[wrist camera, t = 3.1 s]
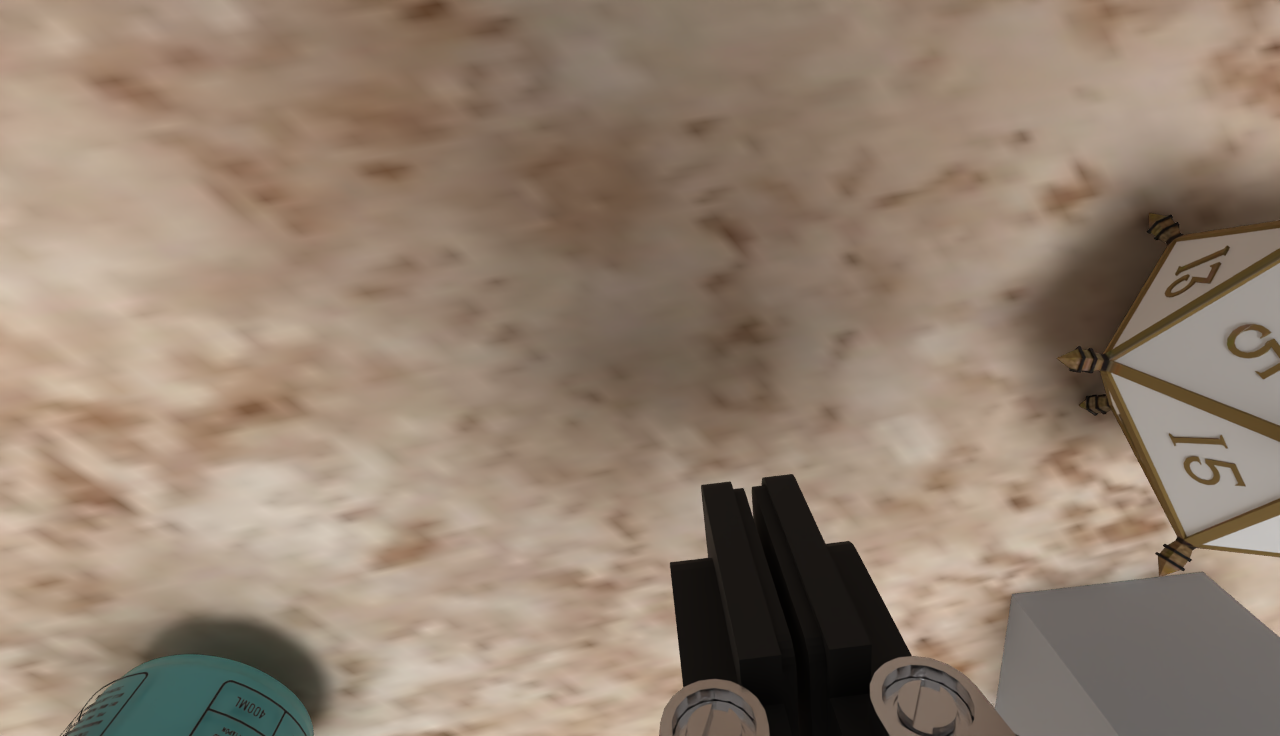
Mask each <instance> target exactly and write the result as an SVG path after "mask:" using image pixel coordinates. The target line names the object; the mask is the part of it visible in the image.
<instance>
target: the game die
mask: <svg viewBox="0 0 1280 736" xmlns="http://www.w3.org/2000/svg"><path fill="white" fill-rule="evenodd" d="M1172 218H1173V216H1172V215H1169V216H1164V215H1158V214H1152V213H1149V230H1148V231H1147V233H1152V234H1153V235H1154V236H1155V238H1154V239H1155V240H1162V241H1164V242H1166V244H1167V248H1166V249H1165V251H1164V253H1163V254H1162V256H1161V258H1160V259H1159V261H1158V263H1157V264H1156V266H1155V268H1154V269H1153V271H1152V273H1151V274H1150V276H1149V278H1148V279H1147V281H1146V283H1145V284H1144V286H1143V288H1142V289H1141V291H1140V293H1139V294H1138V296H1137V298H1136V299H1135V301H1134V303H1133V304H1132V306H1131V308H1130V309H1129V311H1128V313H1127V314H1126V316H1125V318H1124V319H1123V321H1122V323H1121V324H1120V326H1119V328H1118V329H1117V331H1116V333H1115V334H1114V336H1113V338H1112V339H1111V341H1110V343H1109V344H1108V346H1107V348H1106V349H1105V351H1104V353H1103V354H1098V353H1096V352H1094V350H1093V349H1092V348H1089V349H1088V350H1084V349H1082V348H1081V347H1080V346H1078V347H1077V348H1076V349H1075V350H1074V351H1071V352H1069V353H1067V354H1065V355H1063V356H1061V357H1058V358H1057V359H1058V360H1059V361H1061V362H1062V363H1063V364H1065V365H1066V366H1067V367H1069V371H1073V372H1080V373H1081V371H1082V372H1087V373H1093V371H1096V370H1100V373H1101V377H1102V380H1103V384H1104V388H1105V391H1106V394H1103V395H1098V396H1097V395H1091V396H1086V400H1085V401H1083V402H1082V403H1081V404H1080V405H1079V406H1080V407H1082V408H1084V409H1086V410H1088V411H1089V412H1091V413H1092V414H1093V415H1095V416H1096V415H1097V414H1098V413H1102V414H1106V413H1107V411H1109V410H1112V411H1113V413H1114V415H1115V417H1116V419H1117V421H1118V423H1119V425H1120V427H1121V429H1122V431H1123V433H1124V435H1125V436H1126V438H1127V440H1128V442H1129V444H1130V446H1131V448H1132V450H1133V452H1134V454H1135V456H1136V458H1137V460H1138V462H1139V464H1140V465H1141V467H1142V469H1143V471H1144V473H1145V475H1146V477H1147V479H1148V481H1149V483H1150V485H1151V487H1152V489H1153V491H1154V492H1155V494H1156V496H1157V498H1158V500H1159V502H1160V504H1161V506H1162V508H1163V510H1164V512H1165V514H1166V516H1167V518H1168V519H1169V521H1170V523H1171V525H1172V527H1173V529H1174V531H1175V533H1176V535H1177V539H1176V541H1174V542H1172V543H1171V544H1169V545H1166V544H1164V545H1163V546H1164V547H1165V548H1164V549H1163V550H1162V552H1161V553H1158V552H1156V553H1155V554H1156V555H1158V565H1159V577H1161V576H1164V575H1167V574H1170V573H1173V572H1176V571H1179V570H1182V571H1184V570H1185V569H1184V568H1183V567H1184V565H1185V564H1186V563H1187V561H1189V562H1191V560H1192V559H1190V556H1191V553H1192V550H1194V549H1195V548H1202V549H1211V550H1220V551H1228V552H1237V553H1246V554H1255V555H1264V556H1273V557H1280V220H1279V221H1272V222H1266V223H1259V224H1252V225H1246V226H1239V227H1233V228H1226V229H1219V230H1213V231H1206V232H1200V233H1193V234H1186V235H1184V234H1182V233H1180V231H1179V223H1178V222H1177V223H1175V222H1174V221H1173V220H1172ZM1106 395H1107V396H1106Z"/></svg>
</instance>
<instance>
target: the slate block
mask: <svg viewBox="0 0 1280 736" xmlns="http://www.w3.org/2000/svg"><path fill="white" fill-rule="evenodd" d="M995 710H996V711H997V712H998V714H999V715H1000V716H1001V717H1002V719H1003V720H1004V721H1005V722H1006V724H1007V725H1008V726H1009V727H1010V729H1011V730H1012V731H1013V732H1014V733H1015V734H1017V735H1019V736H1280V637H1279V636H1277V635H1276V634H1275V633H1274V632H1273V631H1272V630H1270V629H1269V628H1268V627H1267V626H1266V625H1264V624H1263V623H1262V622H1261V621H1260V620H1259V619H1257V618H1256V617H1255V616H1254V615H1253V614H1252V613H1250V612H1249V611H1248V610H1247V609H1246V608H1245V607H1243V606H1242V605H1241V604H1240V603H1239V602H1238V601H1236V600H1235V599H1234V598H1233V597H1232V596H1231V595H1229V594H1228V593H1227V592H1226V591H1225V590H1224V589H1222V588H1221V587H1220V586H1219V585H1218V584H1216V583H1215V582H1214V581H1213V580H1212V579H1211V578H1209V577H1208V576H1207V575H1206V574H1205V573H1204V572H1197V573H1189V574H1180V575H1171V576H1163V577H1154V578H1146V579H1137V580H1129V581H1120V582H1111V583H1103V584H1094V585H1086V586H1077V587H1068V588H1060V589H1051V590H1043V591H1034V592H1026V593H1017V594H1012V598H1011V604H1010V611H1009V618H1008V625H1007V631H1006V638H1005V645H1004V652H1003V658H1002V665H1001V672H1000V679H999V685H998V692H997V699H996V706H995Z"/></svg>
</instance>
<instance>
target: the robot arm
mask: <svg viewBox="0 0 1280 736" xmlns="http://www.w3.org/2000/svg"><path fill="white" fill-rule="evenodd" d="M701 491H702V501H703V511H704V521H705V531H706V541H707V550H708V558H704V559H696V560H687V561H679V562H670V569H671V578H672V587H673V596H674V605H675V615H676V624H677V633H678V642H679V651H680V660H681V669H682V679H683V688H682V689H681V690H680V691H678V692H677V693H676V694H675V695H673V696H672V698H671V699H670V701H669V702H668V704H667V705H666V707H665V708H664V711H663V715H662V718H661V722H660V730H659V736H1019V735H1017V734H1015V733H1014V732H1013V731H1012V730H1011V729H1010V727H1009V726H1008V725H1007V724H1006V722H1005V721H1004V720H1003V719H1002V717H1001V716H1000V715H999V714H998V712H997V711H996V710H995V709H994V707H993V706H992V705H991V704H990V702H989V701H988V700H987V699H986V697H985V696H984V695H983V694H982V692H981V691H980V690H979V689H978V687H977V686H976V685H975V684H974V683H973V682H972V681H971V680H970V679H969V678H967V677H966V676H965V675H964V674H963V673H961V672H960V671H958V670H956V669H955V668H953V667H952V666H950V665H948V664H946V663H943V662H940V661H937V660H934V659H932V658H926V657H918V656H912V655H911V653H910V652H909V650H908V648H907V646H906V644H905V642H904V640H903V638H902V636H901V634H900V632H899V630H898V629H897V627H896V625H895V623H894V621H893V619H892V617H891V615H890V613H889V611H888V609H887V607H886V606H885V604H884V602H883V600H882V598H881V596H880V594H879V592H878V590H877V588H876V586H875V584H874V583H873V581H872V579H871V577H870V575H869V573H868V571H867V569H866V567H865V565H864V563H863V561H862V560H861V558H860V556H859V554H858V552H857V550H856V548H855V547H854V545H853V544H852V543H851V542H849V541H846V542H838V543H830V544H825V542H824V540H823V538H822V535H821V533H820V531H819V529H818V527H817V525H816V522H815V520H814V518H813V516H812V514H811V512H810V509H809V507H808V505H807V503H806V501H805V498H804V496H803V494H802V492H801V490H800V488H799V485H798V483H797V481H796V479H795V477H794V475H793V474H789V475H781V476H772V477H764V478H762V486H756V487H752V503H753V516H752V513H751V510H750V506H749V503H748V500H747V497H746V494H745V491H744V489H743V488H740V489H733V487H732V484H731V482H723V483H715V484H707V485H701Z"/></svg>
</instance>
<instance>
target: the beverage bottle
mask: <svg viewBox="0 0 1280 736" xmlns="http://www.w3.org/2000/svg"><path fill="white" fill-rule="evenodd" d="M113 682H115V683H114V684H112V685H111V686H110V687H108V688H107V689H106V690H105V691H104V692H103V693H102V694H101V695H99V696H98V697H97V698H96V699H97V700H96V699H95V700H96V702H95V703H93V704H92V705H90V706H88V707H86V709H85V710H87V709H89V708H90V707H91V708H90V709H89V710H88V711H87V712H86V714H85V713H84V714H83V715H82V716H81V714H82V711H83V709H84V707H85V706H86V705H87V703H86V705H85V706H84V707H83V709H82V710H81V711H80V712H81V714H80V717H79V719H78V718H77V719H78V723H77V724H76V725H74V726H75V727H74V726H72V725H71V723H72V722H71V723H70V724H69V726H68V729H69V730H70V728H72V727H74V728H73V730H72V731H70V732H67V731H66V732H67V733H66V735H65V736H314V732H313V725H312V721H311V718H310V716H309V714H308V712H307V710H306V708H305V707H304V705H303V704H302V702H301V701H300V700H299V699H298V698H297V696H296V695H295V694H294V693H293V692H292V691H290V690H289V689H288V688H287V687H286V686H284V685H283V684H282V683H280V682H279V681H278V680H276V679H274V678H273V677H271V676H270V675H268V674H266V673H264V672H262V671H260V670H258V669H256V668H254V667H251V666H249V665H246V664H244V663H241V662H237V661H234V660H230V659H226V658H221V657H216V656H209V655H197V654H183V655H172V656H166V657H161V658H158V659H154V660H151V661H148V662H146V663H143V664H141V665H139V666H137V667H136V668H134V669H132V670H131V671H129V672H128V673H127V674H125V675H124V676H123V677H121V678H120V679H117V680H115V681H113ZM113 682H111V683H113ZM111 683H109V684H108V685H110V684H111ZM108 685H106V686H108ZM106 686H104V687H106ZM104 687H103V688H104ZM101 689H102V688H101ZM101 689H100V690H101ZM100 690H99V691H100ZM99 691H98V692H99ZM96 693H97V692H96ZM96 693H95V694H96ZM95 694H94V695H95ZM94 695H93V696H94ZM91 698H92V697H91ZM91 698H90V699H89V701H90V700H91ZM89 701H88V702H89ZM85 710H84V711H85ZM80 712H79V713H80ZM79 713H78V714H79ZM76 717H77V716H76ZM76 717H75V718H76ZM81 717H82V719H81V720H80V718H81ZM75 718H74V719H75ZM74 719H73V721H74ZM77 719H76V720H77ZM76 720H75V721H76ZM70 725H71V726H72V727H70ZM69 727H70V728H69ZM66 729H67V728H66ZM66 729H65V730H66ZM68 729H67V730H68ZM65 730H64V731H65ZM69 730H68V731H69ZM61 735H62V734H61ZM61 735H60V736H61ZM63 736H64V735H63Z"/></svg>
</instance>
